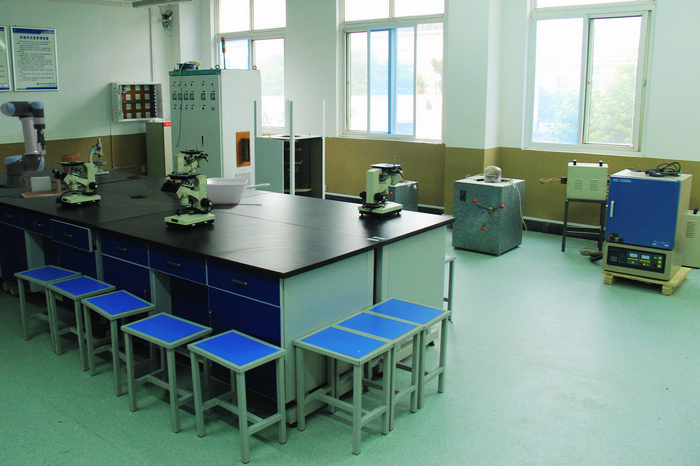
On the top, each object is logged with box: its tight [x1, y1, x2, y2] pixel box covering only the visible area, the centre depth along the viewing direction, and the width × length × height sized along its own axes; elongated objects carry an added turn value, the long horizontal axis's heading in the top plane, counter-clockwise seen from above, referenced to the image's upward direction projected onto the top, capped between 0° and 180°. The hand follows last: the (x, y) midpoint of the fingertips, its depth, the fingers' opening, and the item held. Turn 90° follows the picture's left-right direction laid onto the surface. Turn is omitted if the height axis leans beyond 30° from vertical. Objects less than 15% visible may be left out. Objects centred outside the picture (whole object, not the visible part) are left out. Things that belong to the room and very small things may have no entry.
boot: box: [60, 152, 81, 189], centre depth 458 cm, size 25×9×27 cm, turn 134°
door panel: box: [30, 176, 52, 192], centre depth 425 cm, size 3×12×12 cm, turn 126°
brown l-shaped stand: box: [21, 169, 63, 199], centre depth 426 cm, size 12×24×17 cm, turn 126°
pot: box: [206, 177, 271, 205], centre depth 411 cm, size 29×44×15 cm, turn 91°
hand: (42, 153), depth 433 cm, fingers open, 13 cm apart
